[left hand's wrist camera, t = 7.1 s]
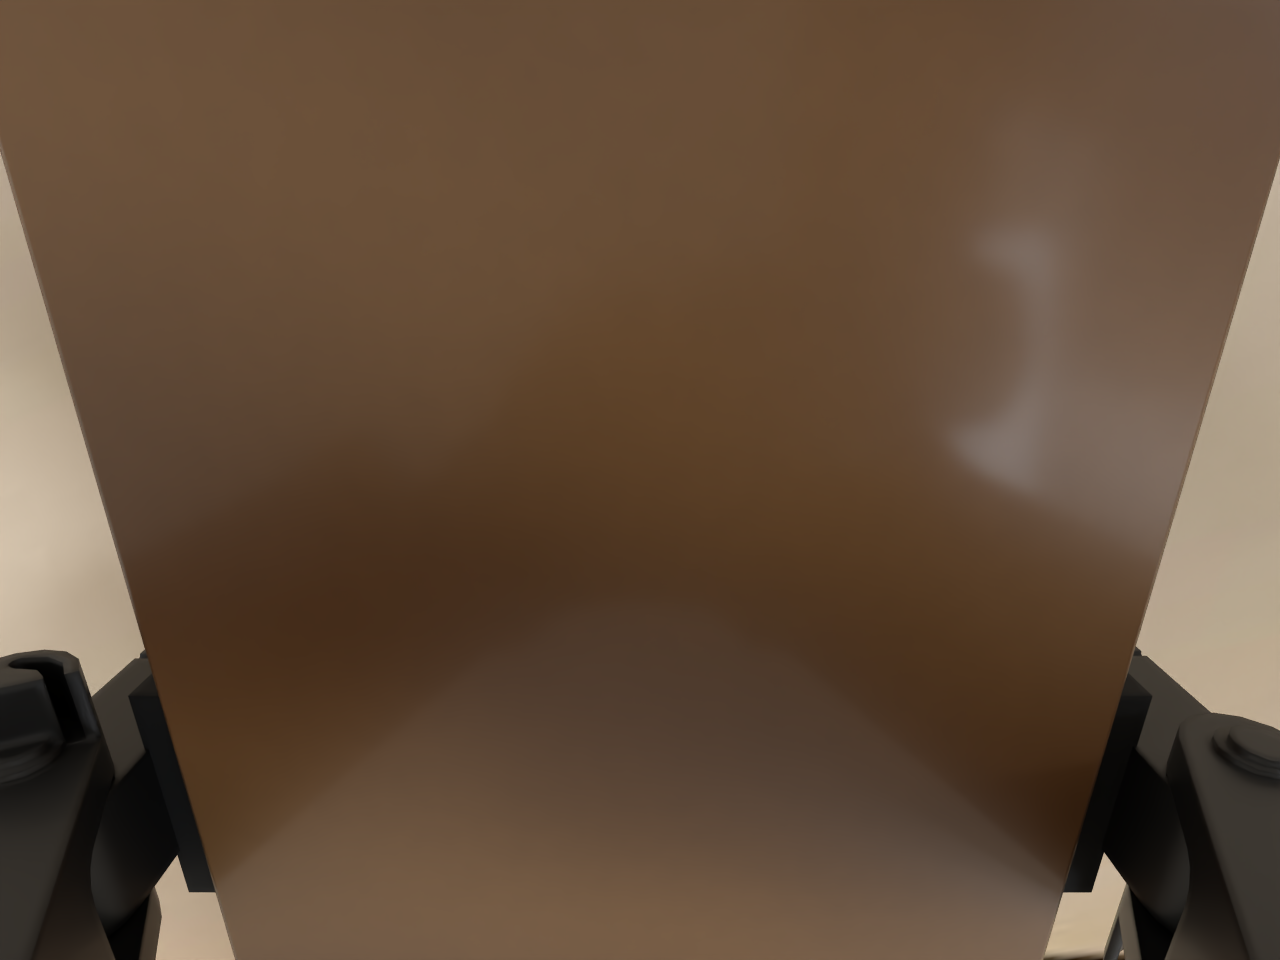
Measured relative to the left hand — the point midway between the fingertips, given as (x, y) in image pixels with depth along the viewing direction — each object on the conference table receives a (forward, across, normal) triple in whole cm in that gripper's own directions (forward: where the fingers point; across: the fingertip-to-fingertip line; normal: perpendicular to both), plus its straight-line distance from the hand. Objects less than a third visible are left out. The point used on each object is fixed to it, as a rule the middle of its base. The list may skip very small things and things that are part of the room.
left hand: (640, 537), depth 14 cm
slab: (+1, 0, -25) cm, 25 cm away
